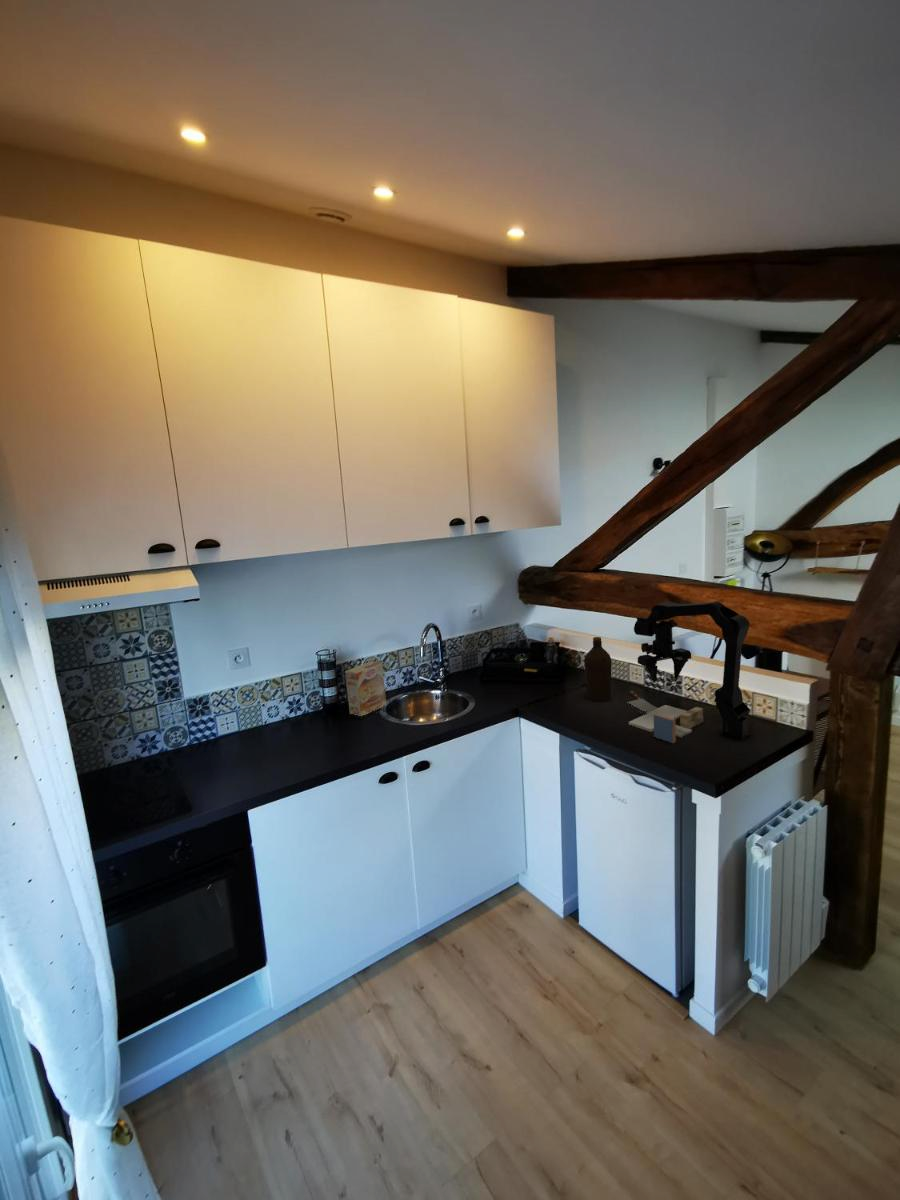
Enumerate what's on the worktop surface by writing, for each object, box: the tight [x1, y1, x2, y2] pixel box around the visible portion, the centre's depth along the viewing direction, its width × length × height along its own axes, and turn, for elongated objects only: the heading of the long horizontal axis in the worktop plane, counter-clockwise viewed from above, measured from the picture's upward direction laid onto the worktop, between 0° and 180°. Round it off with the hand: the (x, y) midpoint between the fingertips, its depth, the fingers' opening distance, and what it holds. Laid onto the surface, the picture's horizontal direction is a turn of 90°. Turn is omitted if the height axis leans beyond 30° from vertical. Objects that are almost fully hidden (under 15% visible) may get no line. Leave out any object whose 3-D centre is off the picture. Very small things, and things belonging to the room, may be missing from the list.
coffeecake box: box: [344, 661, 387, 716], centre depth 229 cm, size 15×7×20 cm, turn 143°
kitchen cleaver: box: [626, 690, 659, 713], centre depth 217 cm, size 24×1×10 cm
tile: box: [653, 713, 677, 744], centre depth 184 cm, size 7×2×8 cm, turn 36°
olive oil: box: [583, 636, 613, 703], centre depth 223 cm, size 11×11×25 cm
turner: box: [676, 706, 704, 738], centre depth 191 cm, size 16×6×5 cm, turn 126°
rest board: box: [628, 704, 688, 733], centre depth 201 cm, size 9×22×1 cm, turn 126°
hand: (665, 680), depth 201 cm, fingers open, 9 cm apart
